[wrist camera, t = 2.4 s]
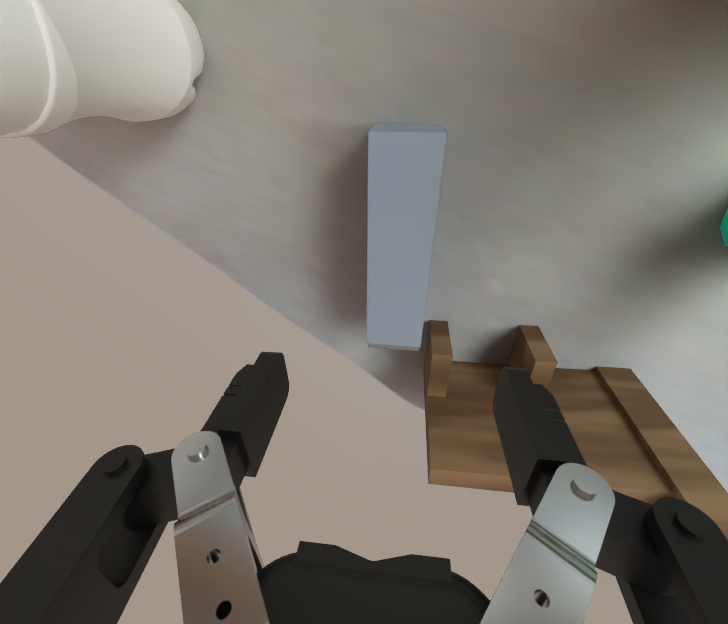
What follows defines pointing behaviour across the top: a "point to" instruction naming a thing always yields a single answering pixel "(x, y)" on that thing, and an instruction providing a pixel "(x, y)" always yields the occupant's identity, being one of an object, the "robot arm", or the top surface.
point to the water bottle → (94, 62)
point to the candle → (724, 228)
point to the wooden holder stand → (581, 413)
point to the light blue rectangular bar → (401, 229)
